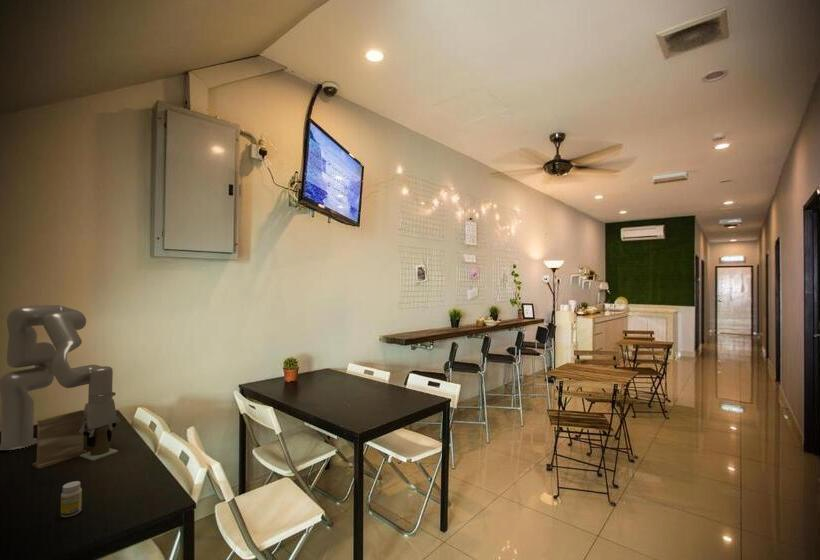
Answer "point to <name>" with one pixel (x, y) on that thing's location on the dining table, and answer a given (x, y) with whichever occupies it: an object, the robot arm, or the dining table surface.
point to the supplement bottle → (71, 499)
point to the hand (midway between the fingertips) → (99, 443)
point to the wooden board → (59, 439)
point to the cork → (100, 441)
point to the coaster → (91, 457)
